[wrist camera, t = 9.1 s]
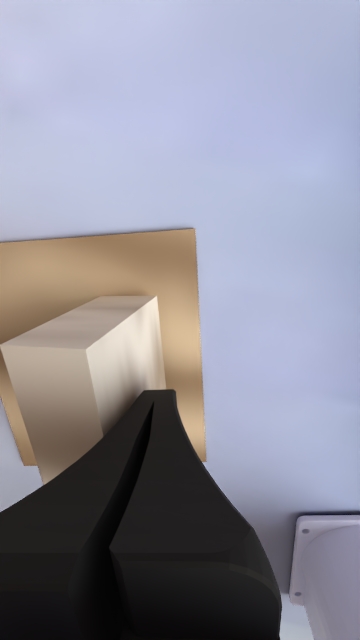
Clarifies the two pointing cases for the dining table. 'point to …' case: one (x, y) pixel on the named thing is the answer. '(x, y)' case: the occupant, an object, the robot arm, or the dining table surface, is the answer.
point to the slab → (84, 374)
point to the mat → (108, 280)
